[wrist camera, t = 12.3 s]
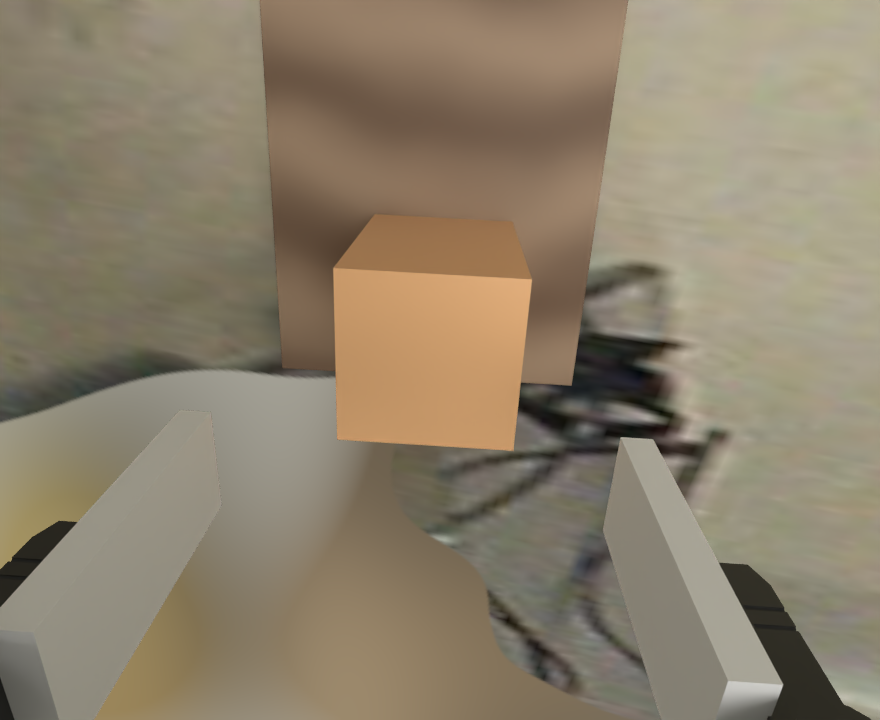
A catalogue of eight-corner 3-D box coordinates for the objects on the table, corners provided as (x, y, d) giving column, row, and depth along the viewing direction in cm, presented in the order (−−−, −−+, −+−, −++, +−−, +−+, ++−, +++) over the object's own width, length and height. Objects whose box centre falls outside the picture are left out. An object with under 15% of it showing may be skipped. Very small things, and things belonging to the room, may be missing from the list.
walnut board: (254, -283, 23) (241, -307, 22) (658, -267, 23) (671, -291, 21) (289, 356, 33) (282, 368, 32) (567, 373, 33) (571, 385, 32)
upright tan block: (374, 214, 29) (333, 268, 20) (512, 221, 28) (532, 279, 20) (374, 341, 31) (337, 439, 22) (500, 349, 31) (513, 450, 22)
